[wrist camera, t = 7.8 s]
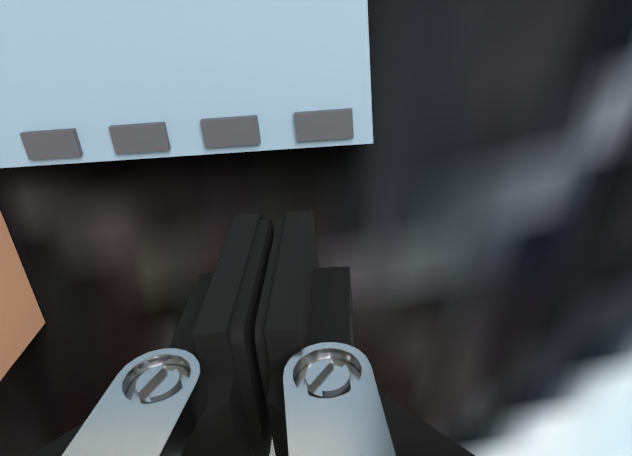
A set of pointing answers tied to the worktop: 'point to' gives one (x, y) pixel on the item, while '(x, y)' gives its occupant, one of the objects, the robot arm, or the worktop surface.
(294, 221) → the robot arm
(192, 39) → the blue microchip card
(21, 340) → the cardboard box
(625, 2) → the worktop surface
